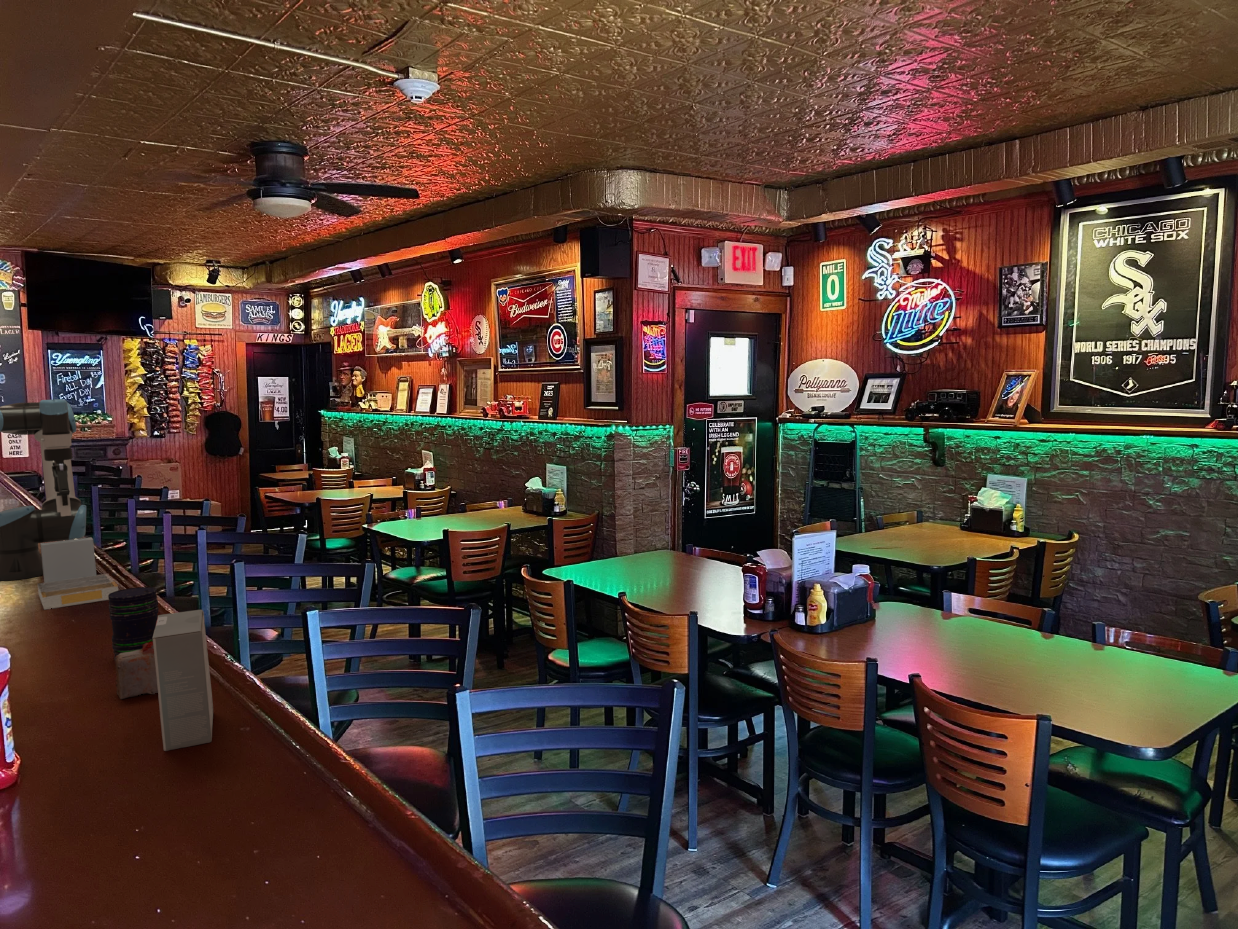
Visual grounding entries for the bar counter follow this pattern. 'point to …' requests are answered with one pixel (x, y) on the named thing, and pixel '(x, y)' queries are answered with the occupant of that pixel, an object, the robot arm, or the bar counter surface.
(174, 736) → the hard drive box
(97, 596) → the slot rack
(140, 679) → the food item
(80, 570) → the blanking panel
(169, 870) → the bar counter surface
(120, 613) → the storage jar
